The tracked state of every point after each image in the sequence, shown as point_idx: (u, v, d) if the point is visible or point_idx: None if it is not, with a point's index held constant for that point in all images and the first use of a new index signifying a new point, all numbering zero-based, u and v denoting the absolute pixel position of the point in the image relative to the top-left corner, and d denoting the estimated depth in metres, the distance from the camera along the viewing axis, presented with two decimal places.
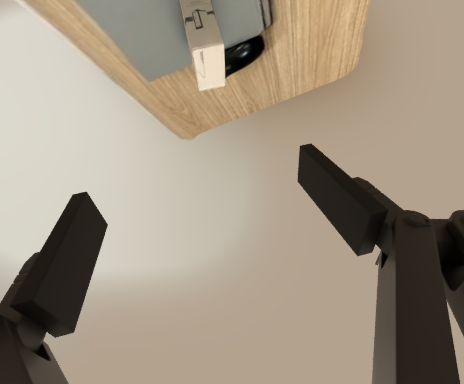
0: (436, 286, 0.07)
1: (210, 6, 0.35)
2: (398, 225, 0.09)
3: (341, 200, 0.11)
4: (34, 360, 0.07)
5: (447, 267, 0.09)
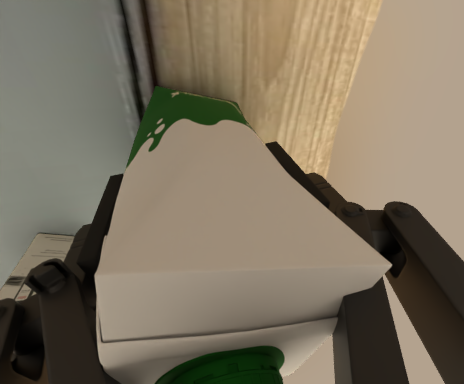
0: None
1: None
2: (338, 217, 0.10)
3: None
4: (94, 317, 0.08)
5: (388, 256, 0.10)
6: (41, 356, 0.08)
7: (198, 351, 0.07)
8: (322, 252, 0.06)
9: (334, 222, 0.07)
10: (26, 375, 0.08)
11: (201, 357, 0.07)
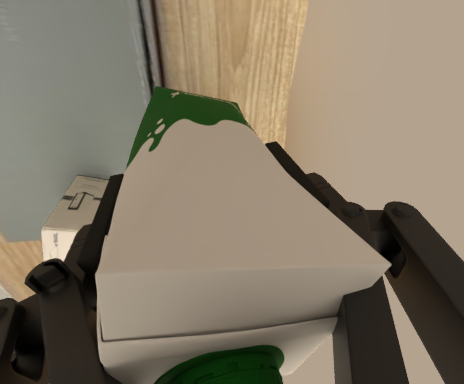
0: None
1: (102, 193, 0.33)
2: (338, 217, 0.10)
3: None
4: (94, 317, 0.08)
5: (388, 256, 0.10)
6: (41, 356, 0.08)
7: (198, 350, 0.07)
8: (321, 252, 0.06)
9: (334, 222, 0.07)
10: (26, 375, 0.08)
11: (202, 356, 0.07)
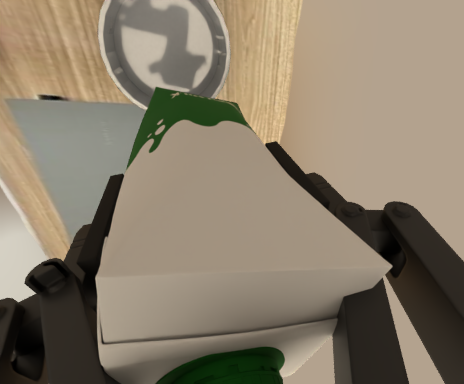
0: None
1: None
2: (338, 217, 0.10)
3: None
4: (94, 317, 0.08)
5: (388, 255, 0.10)
6: (41, 356, 0.08)
7: (198, 352, 0.07)
8: (322, 254, 0.06)
9: (334, 223, 0.07)
10: (26, 375, 0.08)
11: (202, 358, 0.07)
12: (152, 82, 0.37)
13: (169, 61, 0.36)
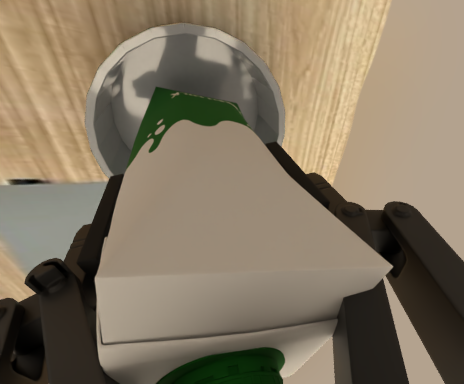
0: None
1: None
2: (338, 217, 0.10)
3: None
4: (94, 317, 0.08)
5: (388, 255, 0.10)
6: (41, 356, 0.08)
7: (198, 353, 0.07)
8: (322, 254, 0.06)
9: (335, 224, 0.07)
10: (26, 375, 0.08)
11: (202, 358, 0.07)
12: None
13: None
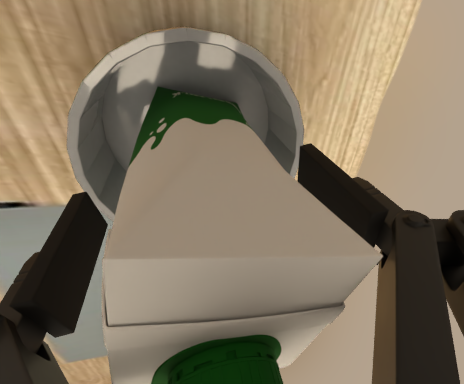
0: (436, 286, 0.07)
1: None
2: (398, 225, 0.09)
3: (341, 200, 0.11)
4: (34, 360, 0.07)
5: (447, 267, 0.09)
6: None
7: (198, 338, 0.07)
8: (315, 244, 0.06)
9: (328, 216, 0.07)
10: None
11: (201, 344, 0.07)
12: None
13: None
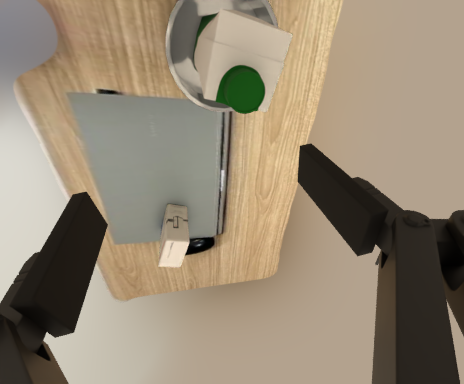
0: (436, 286, 0.07)
1: (186, 216, 0.53)
2: (398, 225, 0.09)
3: (341, 200, 0.11)
4: (34, 360, 0.07)
5: (447, 267, 0.09)
6: None
7: (236, 58, 0.23)
8: (271, 26, 0.22)
9: None
10: None
11: (236, 67, 0.23)
12: (199, 78, 0.40)
13: None
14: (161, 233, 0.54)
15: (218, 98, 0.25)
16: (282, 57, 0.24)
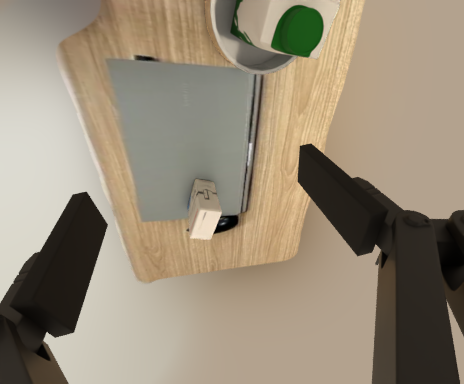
0: (436, 286, 0.07)
1: (215, 190, 0.53)
2: (398, 225, 0.09)
3: (341, 201, 0.11)
4: (34, 360, 0.07)
5: (447, 267, 0.09)
6: None
7: None
8: None
9: None
10: None
11: (294, 7, 0.24)
12: (234, 44, 0.40)
13: None
14: (189, 208, 0.55)
15: (274, 41, 0.25)
16: None
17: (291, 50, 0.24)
